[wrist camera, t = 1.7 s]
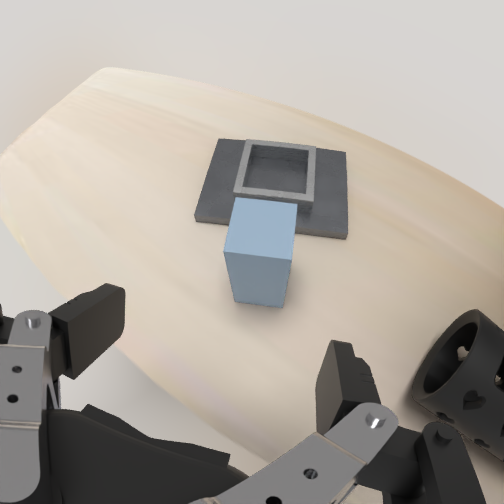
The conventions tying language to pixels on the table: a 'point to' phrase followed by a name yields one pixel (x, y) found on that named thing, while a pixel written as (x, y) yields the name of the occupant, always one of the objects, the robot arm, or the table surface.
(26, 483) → the robot arm
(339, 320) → the table surface
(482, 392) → the muzzle brake
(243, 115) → the table surface
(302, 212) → the grey metal socket plate
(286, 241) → the peg
